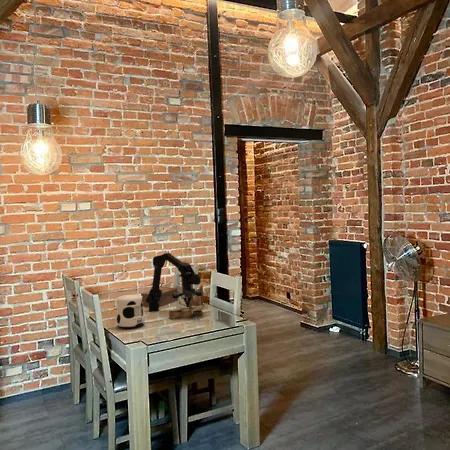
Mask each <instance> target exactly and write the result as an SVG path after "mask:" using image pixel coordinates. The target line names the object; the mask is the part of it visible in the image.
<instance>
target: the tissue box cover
mask: <svg viewBox="0 0 450 450" xmlns="http://www.w3.org/2000/svg"><path fill="white" fill-rule="evenodd" d="M159 288H160V291H162V294H161V295H162V296H161V298H160V301H158V304H159V308H161V307H165V306H167V305H170V304H172V303H175V301H176V302H178V301H179V298H173V297H172V293H175V292H178V293H179V290H178V287H169V286H161V287H159ZM149 291H150V290H148V291H144V292H141V293H140V295H141V296H142V298H143V308H149V304H148V303H146V299H147V297H148V295H149Z"/></svg>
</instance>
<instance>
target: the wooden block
mask: <svg viewBox="0 0 450 450" xmlns="http://www.w3.org/2000/svg"><path fill="white" fill-rule="evenodd" d="M193 285H194V284H191V289H194V286H193ZM203 286H204V285H203V284H201V285H200V286H199V287H198V289H197V290H200V291H201V292H202V296H200V297H201V306H204V287H203ZM194 297H195V295H193V298H191V300H190V303H189V304H191V305H192V307H196V304H195V299H194Z"/></svg>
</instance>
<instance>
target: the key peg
mask: <svg viewBox="0 0 450 450" xmlns="http://www.w3.org/2000/svg"><path fill="white" fill-rule="evenodd" d="M194 300H195V304H196V306H202V305H201V297H200V296H196V295H195V296H194ZM196 306H195V307H196Z"/></svg>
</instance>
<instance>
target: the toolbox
mask: <svg viewBox="0 0 450 450" xmlns="http://www.w3.org/2000/svg"><path fill="white" fill-rule="evenodd" d="M203 315H204V312H203V311H202V310H193V311H183V312H182V311H181V309H175V310H174V309H173V310H168V317H169V319H170V320H171V321H172V320H182V319H191V318H193V316H196V317H197V316H203Z"/></svg>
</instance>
